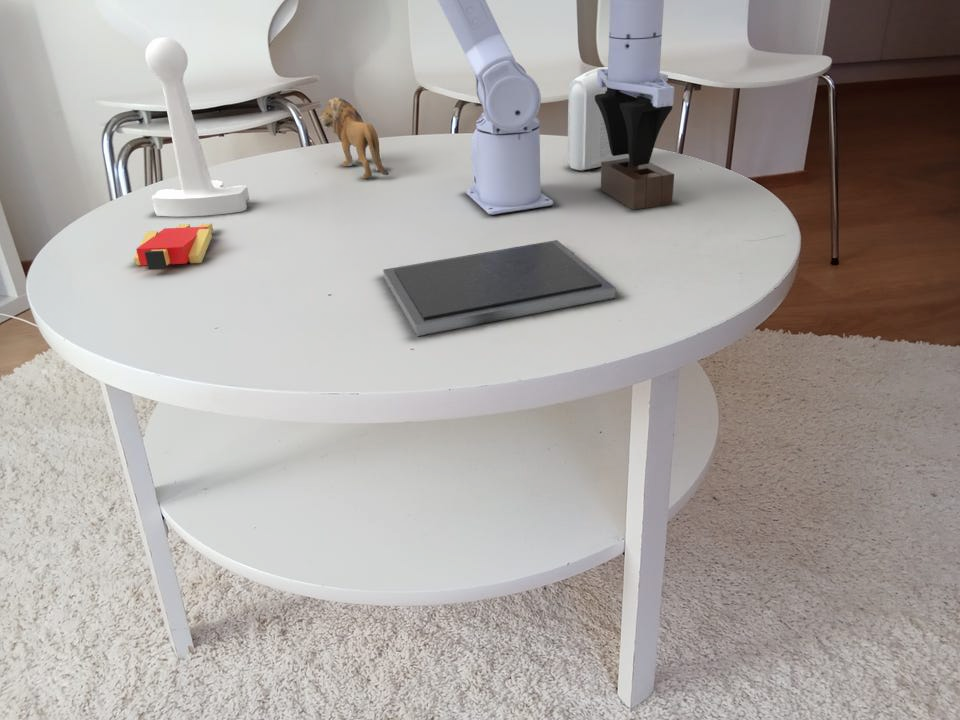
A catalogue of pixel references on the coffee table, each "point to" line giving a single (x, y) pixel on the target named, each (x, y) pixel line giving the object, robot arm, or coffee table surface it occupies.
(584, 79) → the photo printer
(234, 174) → the coffee table surface
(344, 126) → the lion figurine
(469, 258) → the tablet
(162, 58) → the joystick
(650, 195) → the holder
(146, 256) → the toy figure
